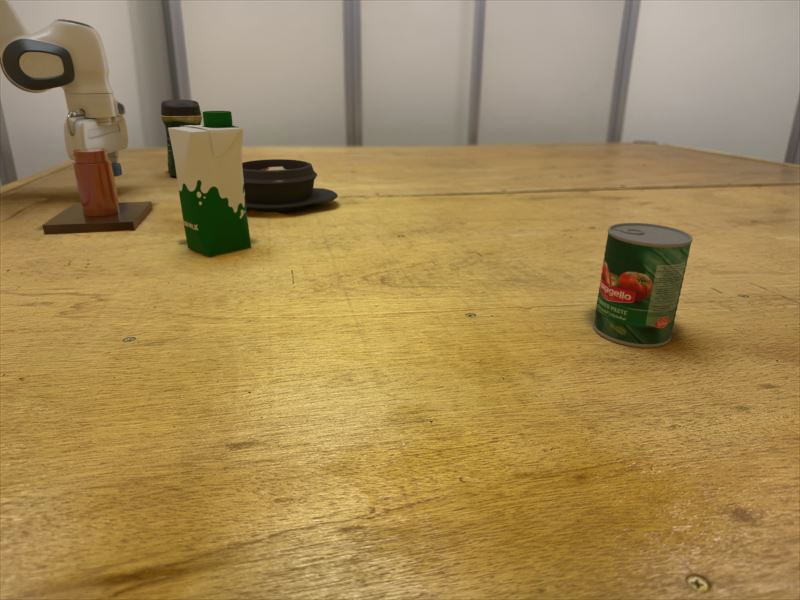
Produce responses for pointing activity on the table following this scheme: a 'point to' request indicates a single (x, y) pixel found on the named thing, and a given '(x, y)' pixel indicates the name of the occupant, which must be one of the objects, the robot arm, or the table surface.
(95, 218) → the board
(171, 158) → the coffee jar
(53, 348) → the table surface
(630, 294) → the canned tomato
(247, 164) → the casserole
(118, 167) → the lid
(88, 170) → the honey jar
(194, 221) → the milk carton
